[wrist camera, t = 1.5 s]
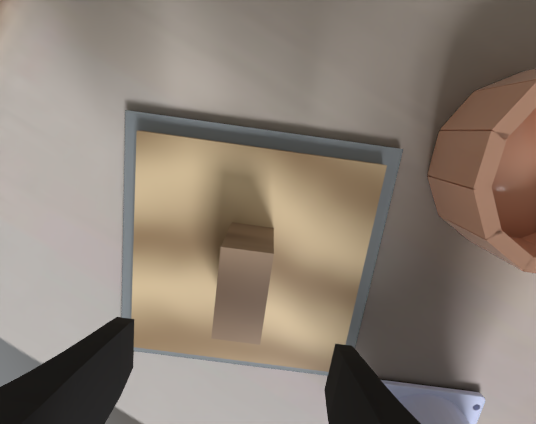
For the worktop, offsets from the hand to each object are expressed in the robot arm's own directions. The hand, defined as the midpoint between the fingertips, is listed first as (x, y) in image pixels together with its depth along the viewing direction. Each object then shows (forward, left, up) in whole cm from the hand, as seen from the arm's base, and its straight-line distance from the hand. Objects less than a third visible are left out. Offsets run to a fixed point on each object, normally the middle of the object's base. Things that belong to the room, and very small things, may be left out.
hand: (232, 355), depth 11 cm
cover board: (0, 0, -9) cm, 9 cm away
